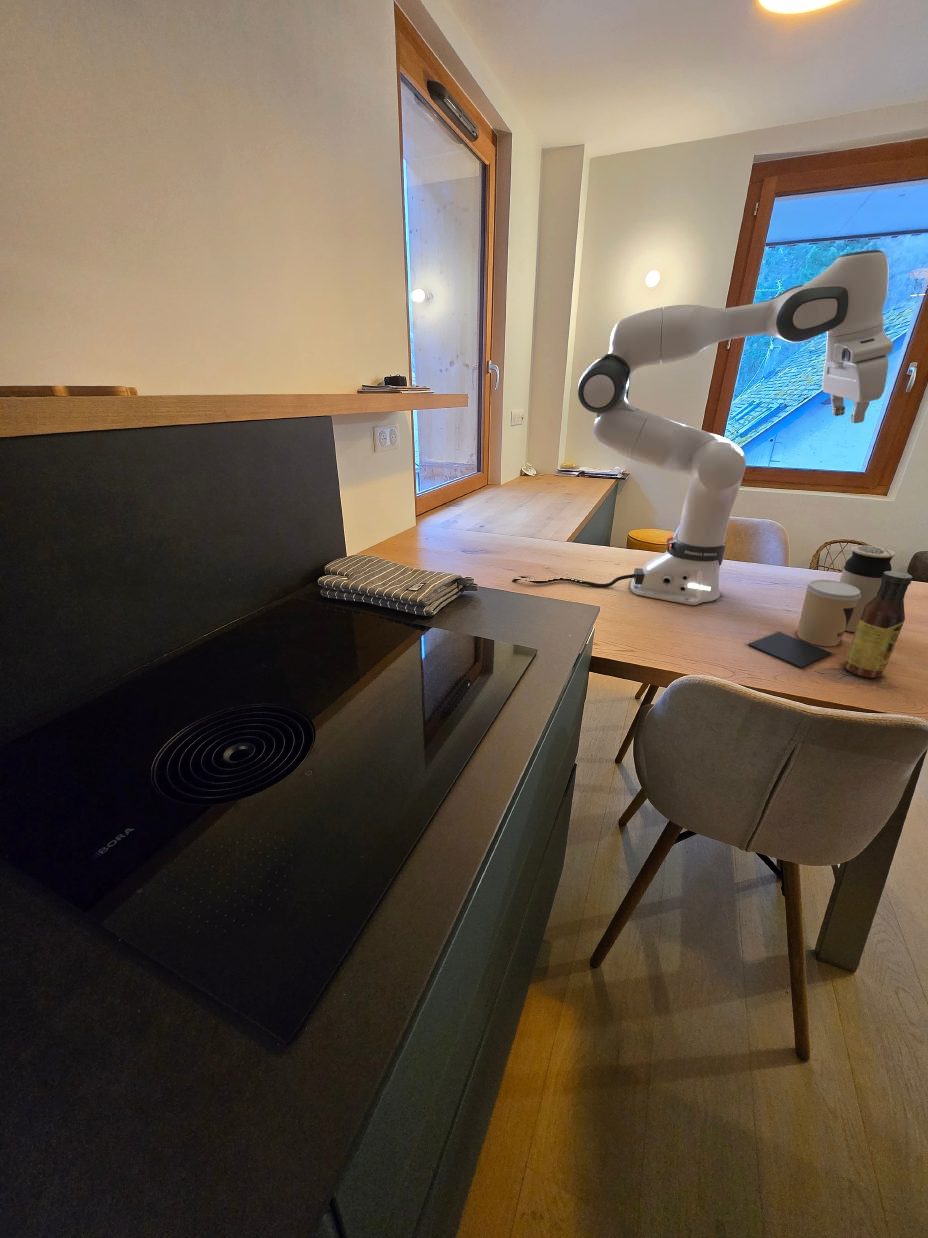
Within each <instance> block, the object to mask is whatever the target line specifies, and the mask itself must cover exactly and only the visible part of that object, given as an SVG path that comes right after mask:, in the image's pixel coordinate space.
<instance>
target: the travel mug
mask: <svg viewBox="0 0 928 1238" xmlns="http://www.w3.org/2000/svg"><path fill="white" fill-rule="evenodd" d="M851 551H852V553H851V556H850V557H848V559H847V560H846V561H845V562H844V563H845V564H844V567H843V570H842V572H841V576H840V577H839V581H838V582H842V583H846V584H849V585H852V586H854V587H856V588H858V589H859V590H860V594H861V597H860V599H859V600H858V602H857V604H856V607H855V609H854V611H853V613H852V616H851V618H850V620H849V622H848V624H847V626H846V629H845V631H844V632H849V633H855V630H856V627H857V624H858V622H859V619H860V618H861V615H862V613H863V609H864V607H865V605H866V604H867V603H868V602H869V601H871V600H872V599H873V598H875V597H876V596H877V592H878V591H879V588H880V585H881V583H882V581H881V579H882V576H883V573H884V572H886V571H893V570H892V565H891V561H892V560H893V558H894V557H895V556H896V555H897V554H896V552H895V551H893V550H891V549H888V548H885V547H881V546H876V545H875V546H874V545H865V544H864V545H861V544H860V545H854V546H852V547H851Z"/></svg>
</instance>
